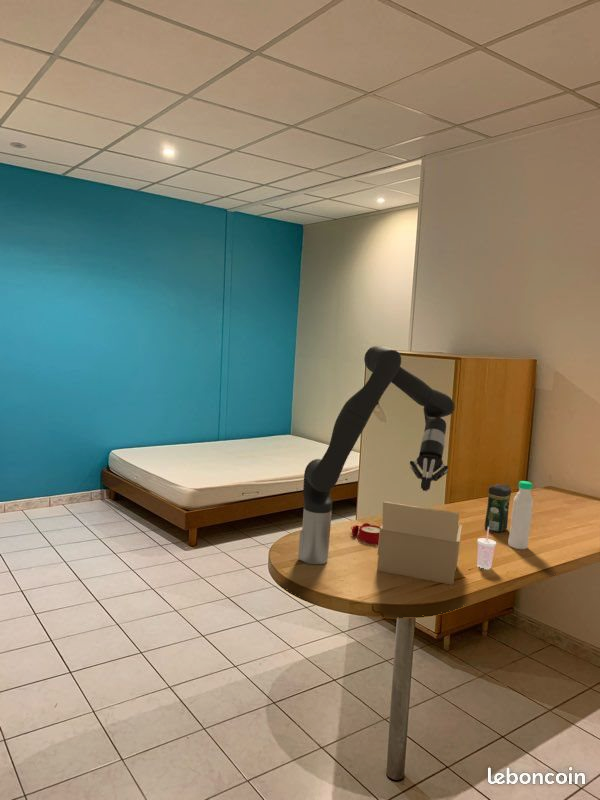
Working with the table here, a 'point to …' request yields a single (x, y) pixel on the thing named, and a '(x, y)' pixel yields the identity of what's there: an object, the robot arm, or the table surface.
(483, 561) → the beverage cup
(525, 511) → the water bottle
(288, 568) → the table surface
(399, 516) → the carton flap
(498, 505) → the coffee jar
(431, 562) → the carton
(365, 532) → the alarm clock
